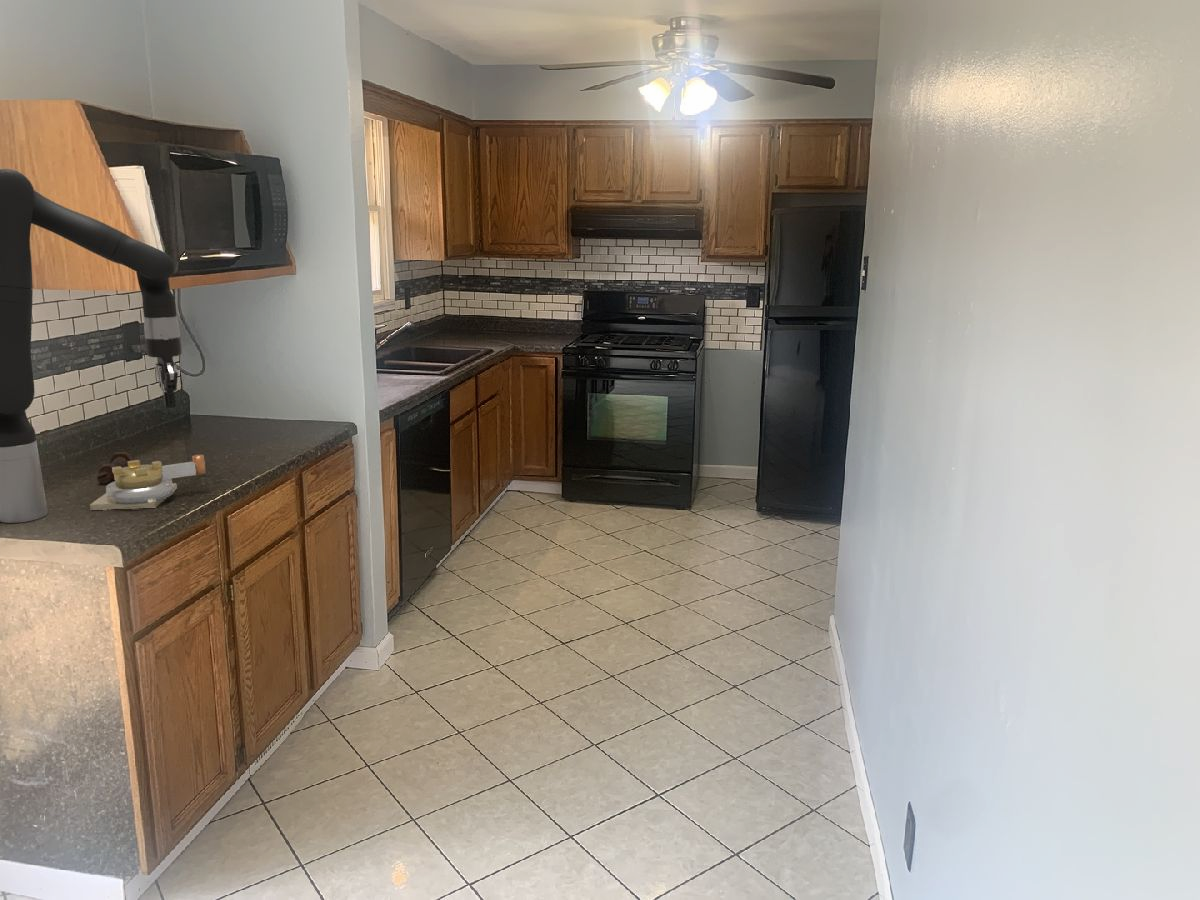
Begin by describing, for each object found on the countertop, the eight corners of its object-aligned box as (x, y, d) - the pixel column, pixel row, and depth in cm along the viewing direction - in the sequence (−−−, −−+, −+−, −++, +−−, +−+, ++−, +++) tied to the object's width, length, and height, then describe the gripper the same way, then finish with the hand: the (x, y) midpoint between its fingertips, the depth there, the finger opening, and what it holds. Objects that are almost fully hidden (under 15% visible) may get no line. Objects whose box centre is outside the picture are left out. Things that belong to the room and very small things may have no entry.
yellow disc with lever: (119, 491, 205) (116, 472, 204) (111, 480, 213) (108, 463, 212) (210, 477, 216) (208, 459, 215) (200, 468, 224) (198, 451, 223)
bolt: (101, 492, 227) (121, 474, 241) (119, 482, 227) (137, 465, 241) (86, 473, 225) (107, 457, 239) (104, 463, 225) (123, 447, 239)
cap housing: (89, 512, 205) (86, 493, 204) (117, 490, 221) (115, 473, 220) (162, 509, 207) (160, 491, 206) (185, 488, 223) (183, 471, 222)
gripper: (139, 334, 217) (147, 404, 221) (150, 339, 206) (159, 413, 211) (173, 332, 221) (180, 401, 225) (185, 337, 211) (193, 409, 215)
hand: (170, 407), depth 218 cm, fingers closed
